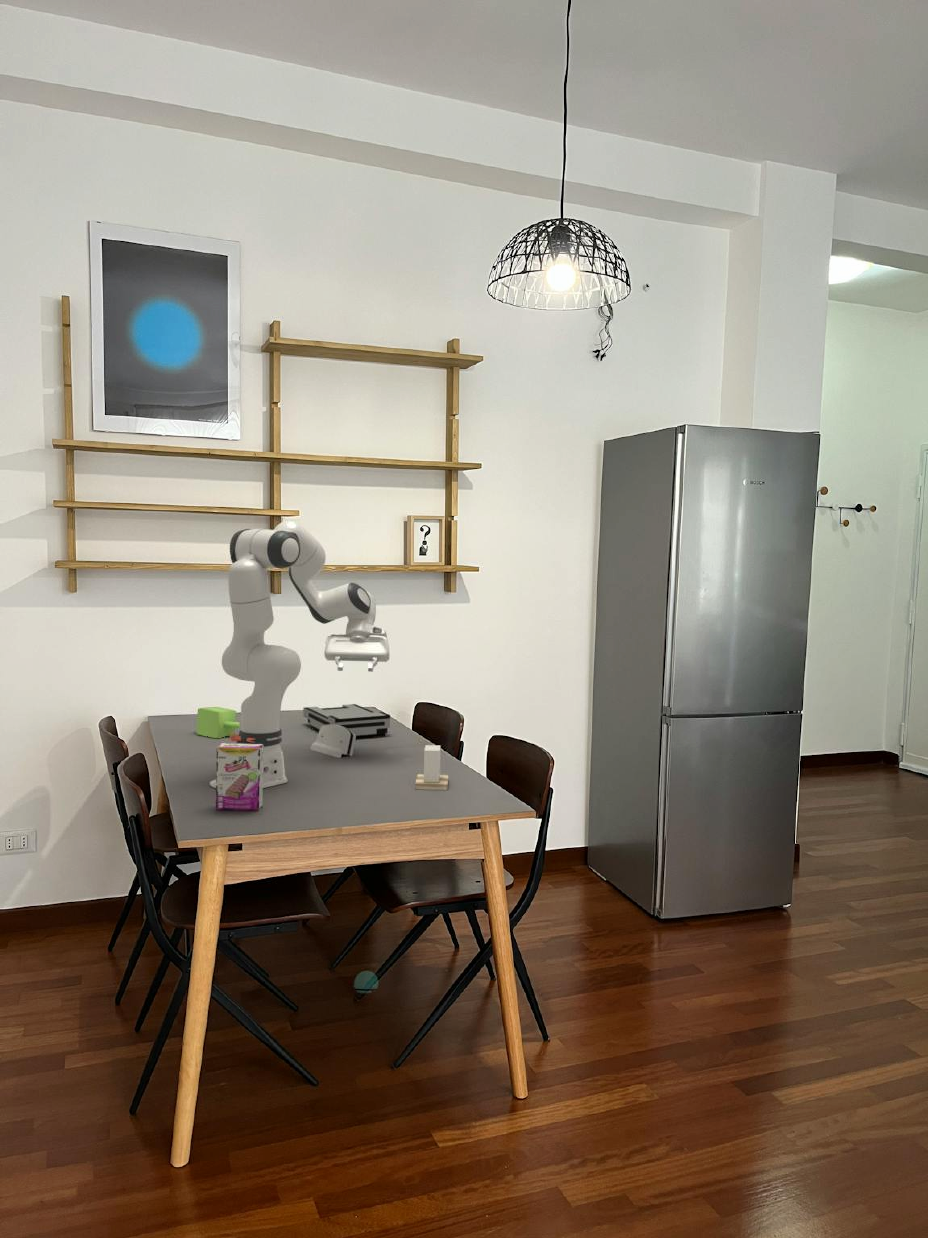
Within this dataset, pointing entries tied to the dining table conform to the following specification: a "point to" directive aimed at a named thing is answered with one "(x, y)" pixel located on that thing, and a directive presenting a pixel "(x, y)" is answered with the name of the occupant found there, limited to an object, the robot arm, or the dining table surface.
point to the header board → (431, 783)
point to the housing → (432, 763)
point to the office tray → (349, 719)
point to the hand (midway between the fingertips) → (355, 670)
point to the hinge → (334, 741)
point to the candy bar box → (239, 776)
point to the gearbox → (216, 722)
